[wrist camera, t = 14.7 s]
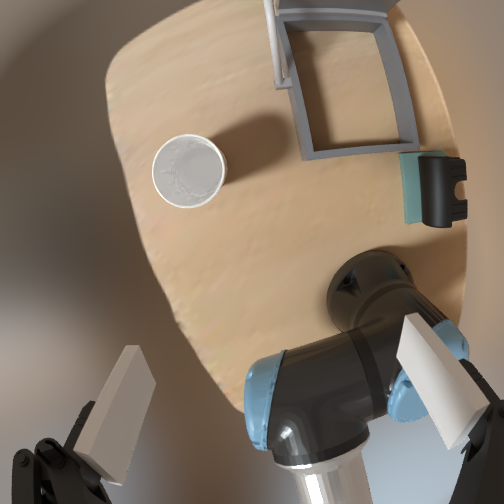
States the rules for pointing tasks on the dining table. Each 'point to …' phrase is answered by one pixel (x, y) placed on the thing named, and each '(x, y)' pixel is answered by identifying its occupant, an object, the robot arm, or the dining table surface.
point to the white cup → (189, 170)
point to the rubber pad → (412, 184)
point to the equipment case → (339, 19)
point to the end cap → (441, 190)
